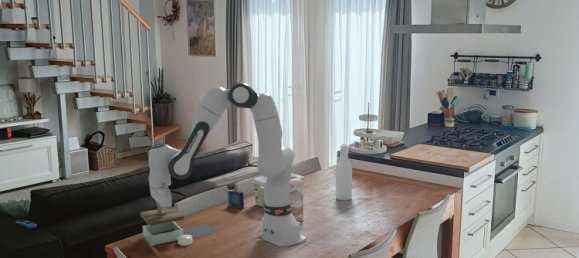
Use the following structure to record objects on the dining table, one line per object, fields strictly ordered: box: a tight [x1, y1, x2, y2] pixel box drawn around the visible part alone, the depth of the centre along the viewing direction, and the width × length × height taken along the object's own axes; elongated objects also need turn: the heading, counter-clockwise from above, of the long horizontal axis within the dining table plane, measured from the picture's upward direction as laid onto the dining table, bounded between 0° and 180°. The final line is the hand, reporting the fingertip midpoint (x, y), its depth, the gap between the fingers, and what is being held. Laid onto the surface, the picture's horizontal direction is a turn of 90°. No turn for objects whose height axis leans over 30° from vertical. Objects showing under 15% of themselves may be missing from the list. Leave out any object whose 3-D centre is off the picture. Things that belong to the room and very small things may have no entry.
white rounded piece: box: [177, 234, 193, 247], centre depth 223 cm, size 6×6×4 cm
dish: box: [142, 221, 185, 248], centre depth 230 cm, size 14×14×5 cm
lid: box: [139, 205, 185, 226], centre depth 229 cm, size 15×15×5 cm
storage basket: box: [252, 172, 305, 209], centre depth 278 cm, size 24×16×15 cm
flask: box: [227, 186, 245, 210], centre depth 273 cm, size 9×3×11 cm, turn 65°
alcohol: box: [335, 143, 353, 201], centre depth 285 cm, size 9×9×30 cm
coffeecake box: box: [289, 178, 304, 222], centre depth 252 cm, size 15×7×20 cm, turn 105°
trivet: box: [182, 223, 218, 238], centre depth 238 cm, size 13×13×1 cm
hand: (161, 211), depth 229 cm, fingers closed on lid, 3 cm apart
